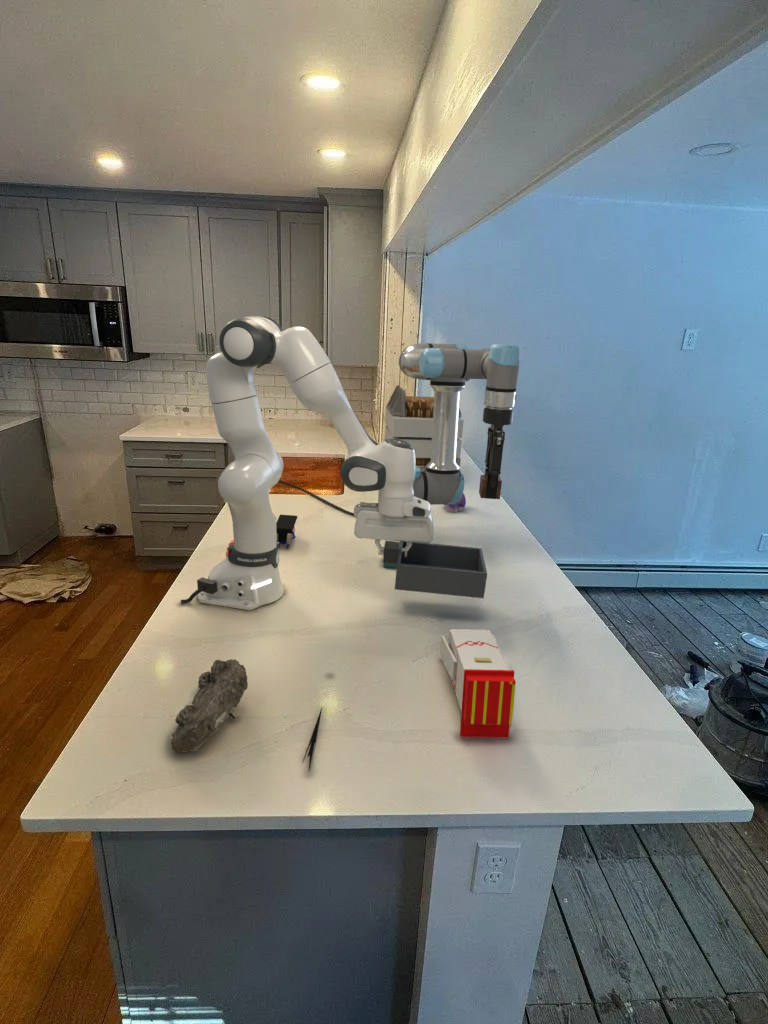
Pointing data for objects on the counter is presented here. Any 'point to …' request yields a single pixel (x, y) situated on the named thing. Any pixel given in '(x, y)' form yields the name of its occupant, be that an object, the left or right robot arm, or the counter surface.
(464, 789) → the counter surface
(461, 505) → the figurine
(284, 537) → the figurine character
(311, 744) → the feather
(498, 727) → the toy
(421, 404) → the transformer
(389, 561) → the bin
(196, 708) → the fossil
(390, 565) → the teal cube
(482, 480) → the walnut cube
